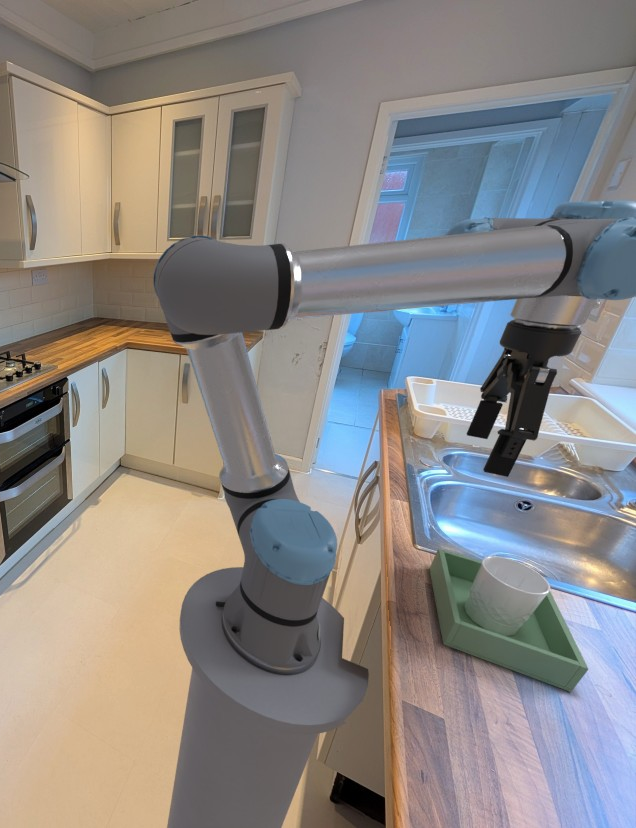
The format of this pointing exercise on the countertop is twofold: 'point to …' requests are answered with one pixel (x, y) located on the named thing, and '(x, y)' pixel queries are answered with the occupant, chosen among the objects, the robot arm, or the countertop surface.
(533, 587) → the white cup
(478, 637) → the tray
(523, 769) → the countertop surface
